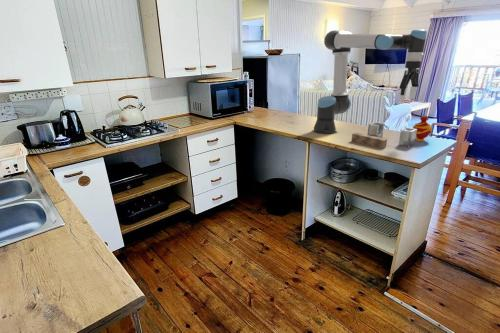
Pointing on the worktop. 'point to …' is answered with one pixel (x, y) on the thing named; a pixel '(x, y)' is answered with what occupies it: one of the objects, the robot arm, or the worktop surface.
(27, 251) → the worktop surface
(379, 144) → the rail
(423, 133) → the potion bottle
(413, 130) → the bracket
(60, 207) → the worktop surface
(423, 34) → the robot arm
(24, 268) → the worktop surface
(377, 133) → the bracket
